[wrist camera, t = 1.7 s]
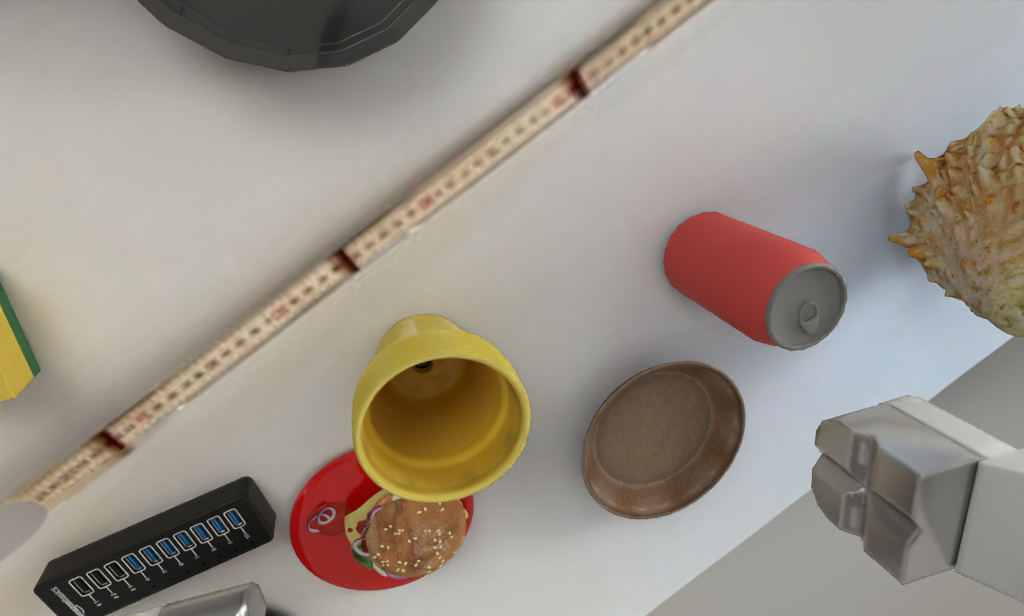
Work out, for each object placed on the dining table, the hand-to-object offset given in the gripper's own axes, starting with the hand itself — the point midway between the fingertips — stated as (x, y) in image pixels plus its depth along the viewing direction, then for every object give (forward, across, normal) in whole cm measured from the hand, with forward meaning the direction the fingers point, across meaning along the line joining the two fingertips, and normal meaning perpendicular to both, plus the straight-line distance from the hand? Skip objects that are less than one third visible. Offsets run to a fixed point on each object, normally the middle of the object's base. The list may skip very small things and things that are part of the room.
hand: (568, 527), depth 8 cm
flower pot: (+34, 0, +13) cm, 36 cm away
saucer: (+34, -18, +24) cm, 45 cm away
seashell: (+33, -46, +8) cm, 57 cm away
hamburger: (+34, +5, +26) cm, 43 cm away
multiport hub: (+34, +20, +23) cm, 45 cm away
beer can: (+33, -22, +9) cm, 41 cm away
